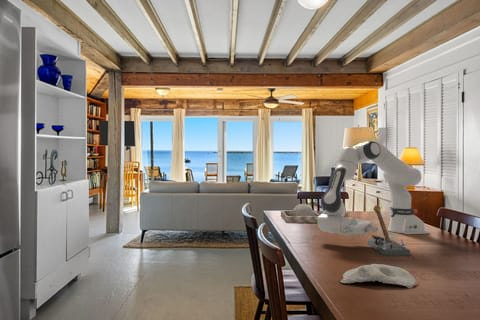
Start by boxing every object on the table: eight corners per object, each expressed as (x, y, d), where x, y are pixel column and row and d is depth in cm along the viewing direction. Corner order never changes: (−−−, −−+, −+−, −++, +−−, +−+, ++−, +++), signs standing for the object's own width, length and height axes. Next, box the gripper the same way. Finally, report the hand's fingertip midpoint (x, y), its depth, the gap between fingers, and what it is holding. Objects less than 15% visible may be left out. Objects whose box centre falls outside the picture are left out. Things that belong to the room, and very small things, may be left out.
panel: (391, 244, 186) (391, 234, 186) (410, 255, 166) (410, 244, 166) (367, 244, 186) (368, 234, 186) (384, 255, 166) (384, 244, 166)
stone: (409, 266, 139) (424, 280, 124) (406, 284, 139) (420, 301, 125) (337, 253, 142) (343, 266, 127) (334, 271, 143) (340, 286, 128)
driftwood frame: (313, 216, 266) (313, 210, 266) (322, 222, 241) (322, 216, 241) (280, 215, 265) (280, 210, 265) (285, 222, 241) (285, 216, 241)
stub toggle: (402, 248, 167) (399, 240, 168) (403, 247, 169) (400, 239, 170) (405, 248, 167) (402, 239, 167) (406, 247, 169) (403, 238, 169)
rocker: (381, 239, 184) (381, 236, 184) (383, 241, 180) (384, 238, 180) (371, 237, 183) (372, 234, 183) (374, 238, 180) (374, 236, 180)
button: (389, 240, 183) (390, 235, 183) (392, 241, 180) (392, 237, 180) (383, 240, 183) (383, 235, 183) (386, 241, 180) (386, 236, 180)
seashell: (301, 226, 262) (288, 210, 262) (316, 215, 261) (304, 198, 261) (302, 230, 246) (290, 212, 247) (319, 219, 246) (306, 201, 246)
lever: (385, 247, 171) (371, 207, 174) (387, 245, 174) (373, 205, 178) (392, 246, 169) (378, 205, 172) (394, 244, 173) (380, 204, 176)
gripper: (343, 223, 173) (373, 226, 166) (354, 217, 191) (381, 219, 183) (342, 236, 173) (372, 240, 166) (353, 228, 191) (381, 232, 183)
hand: (377, 229), depth 175 cm, fingers closed
